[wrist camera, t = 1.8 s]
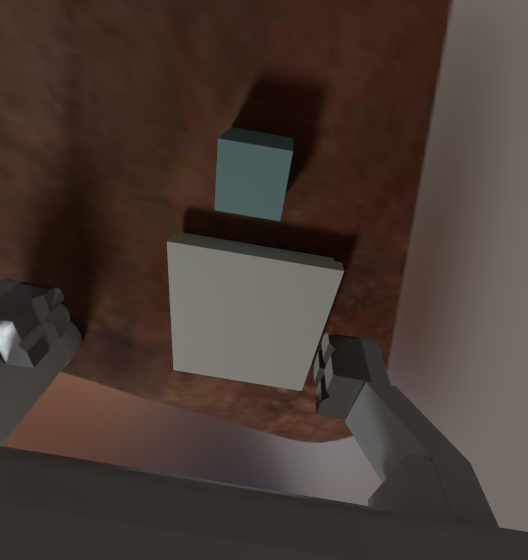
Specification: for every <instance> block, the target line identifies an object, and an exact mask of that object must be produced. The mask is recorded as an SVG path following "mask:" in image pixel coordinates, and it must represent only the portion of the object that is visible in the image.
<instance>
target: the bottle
mask: <svg viewBox="0 0 528 560" xmlns="http://www.w3.org/2000/svg"><path fill="white" fill-rule="evenodd" d="M81 343H82V336H81V333H80V332H79V330H78V328H77V327H76V326H75V325H74V324H73V323H72V322H71V321H70V320H69V325H68V328H67V330H66V332H65V333H64V335H63V336H62V337H61V338H60V339H59V340H57V341H55V342H52V343H50V350H49V352H48V353H47V354H46V355H45V356H44V357H43V358H42V359H41V360H40V362H39V363H38V364H37V365H36V366H35V367H34V368H32V367H25V366H17V365H10V364H4V366H2V367H0V446H2V445H3V444H4V442H5V441H6V440H7V439H8V437H9V436H10V434H11V433H12V432H13V431H14V430H15V428H16V427H17V426H18V425H19V423H20V422H21V421H22V419H23V418H24V417H25V416H26V414H27V413H28V412H29V411H30V409H31V408H32V407H33V405H34V404H35V403H36V402H37V400H38V399H39V398H40V397H41V395H42V394H43V393H44V392H45V390H46V389H47V388H48V387H49V385H50V384H51V383H52V381H53V380H54V379H55V378H56V376H57V375H58V374H59V373H60V371H61V370H62V369H63V368H64V366H65V365H67V364H68V363H69V361H70V360H71V359H72V357H73V356H74V354H75V352H76V351H77V350H78V349H79V347H80V345H81Z"/></svg>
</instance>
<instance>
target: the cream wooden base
mask: <svg viewBox="0 0 528 560" xmlns="http://www.w3.org/2000/svg"><path fill="white" fill-rule="evenodd" d="M167 253H168V272H169V291H170V310H171V329H172V348H173V367H174V370H177V371H183V372H189V373H195V374H201V375H207V376H213V377H220V378H226V379H232V380H238V381H244V382H250V383H256V384H262V385H268V386H274V387H280V388H286V389H292V390H298V391H302V388H303V385H304V382H305V380H306V377H307V374H308V371H309V368H310V366H311V363H312V360H313V357H314V354H315V352H316V349H317V346H318V343H319V340H320V338H321V335H322V332H323V329H324V326H325V324H326V321H327V318H328V315H329V312H330V309H331V307H332V304H333V301H334V298H335V295H336V293H337V290H338V287H339V284H340V281H341V279H342V276H343V273H344V269H343V264H342V262H336V261H334V258H331V257H325V256H319V255H313V254H307V253H301V252H295V251H289V250H283V249H277V248H271V247H265V246H259V245H253V244H248V243H242V242H236V241H230V240H224V239H218V238H212V237H206V236H200V235H194V234H188V233H182V235H176V234H172V235H171V237H170V238H169V239H168V241H167Z"/></svg>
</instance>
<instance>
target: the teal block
mask: <svg viewBox="0 0 528 560" xmlns="http://www.w3.org/2000/svg"><path fill="white" fill-rule="evenodd" d="M293 140H294V138H291V137H285V136H279V135H274V134H268V133H262V132H256V131H250V130H244V129H238V128H232V127H231V128H230V129H229V130H227V131H226V132H225V133H224V134H223V135H222V136H220V137H219V138H218V149H217V170H216V192H215V210H217V211H223V212H228V213H234V214H240V215H246V216H252V217H258V218H264V219H270V220H276V221H280V219H281V214H282V209H283V203H284V198H285V192H286V187H287V182H288V176H289V171H290V165H291V160H292V155H293Z"/></svg>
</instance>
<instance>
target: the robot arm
mask: <svg viewBox="0 0 528 560" xmlns="http://www.w3.org/2000/svg"><path fill="white" fill-rule="evenodd" d="M63 300H64V296H63V294H62V291H61V290H60V289H57V288H54V287H49V286H44V285H38V284H33V283H28V282H21V281H16V280H11V279H5V280H0V367H2V366H4V364H10V365H17V366H25V367H32V368H34V367H35V366H36V365H37V364H38V363H39V362H40V360H41V359H42V358H43V357H44V356H45V355H46V354H47V353H48V352H49V350H50V343H52V342H55V341H57V340H59V339H60V338H61V337H62V336H63V335H64V333H65V332H66V330H67V328H68V325H69V320H70V315H69V312H68V310H67V309H66V308H65V307H64V306H63V305H62V304H61V303H62V301H63ZM314 381H315V383H316V384H317V385H318V388H317V390H316V393H315V401H316V414H317V415H322V416H328V417H333V418H338V419H343V420H345V423H346V424H347V426H348V428H349V429H350V431H351V432H352V434H353V436H354V437H355V439H356V440H357V442H358V444H359V445H360V447H361V448H362V450H363V452H364V454H365V455H366V457H367V458H368V460H369V461H370V463H371V465H372V466H373V468H374V470H375V471H376V473H377V474H378V476H379V478H380V479H381V481H382V484H381V485H380V487H379V488H378V489H377V490H376V491H375V492H374V494H373V495H372V496H371V497H370V498H369V499H368V504H369V506H364V505H358V504H352V503H346V502H340V501H334V500H328V499H321V498H315V497H309V496H303V495H297V494H291V493H285V492H278V491H272V490H266V489H260V488H254V487H248V486H242V485H236V484H229V483H224V482H218V481H211V480H205V479H199V478H193V477H186V476H181V475H175V474H168V473H163V472H156V471H150V470H144V469H138V468H132V467H125V466H120V465H113V464H107V463H101V462H95V461H89V460H83V459H77V458H71V457H65V456H59V455H52V454H46V453H39V452H34V451H28V450H22V449H15V448H10V447H3V446H0V560H528V532H524V531H517V530H512V529H505V528H500V527H499V526H498V524H497V522H496V519H495V517H494V515H493V513H492V510H491V508H490V506H489V504H488V502H487V499H486V497H485V495H484V492H483V491H482V488H481V486H480V484H479V481H478V479H477V477H476V475H475V472H474V470H473V468H472V466H471V463H470V462H469V461H468V460H467V459H466V458H465V457H464V456H463V455H462V454H461V453H460V452H459V451H458V450H457V449H456V448H455V447H454V446H453V445H452V444H451V443H450V442H449V441H448V439H447V438H446V437H444V435H443V434H442V433H441V432H440V431H439V430H438V429H437V428H436V427H435V426H434V425H433V424H432V423H431V422H430V421H429V420H428V419H427V418H426V417H425V416H424V415H423V414H422V413H421V412H420V411H419V410H418V409H417V408H416V407H415V406H414V405H413V404H412V403H411V401H410V400H409V399H408V398H407V397H406V396H404V394H403V393H402V392H401V391H400V390H399V389H398V388H397V387H395V386H391V384H390V381H389V378H388V375H387V372H386V368H385V365H384V362H383V359H382V356H381V352H380V349H379V346H378V343H377V342H376V341H375V340H371V339H364V338H357V337H350V336H344V335H338V334H331V333H325V335H324V337H323V339H322V349H321V350H320V351H318V353H317V356H316V360H315V366H314Z"/></svg>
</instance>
